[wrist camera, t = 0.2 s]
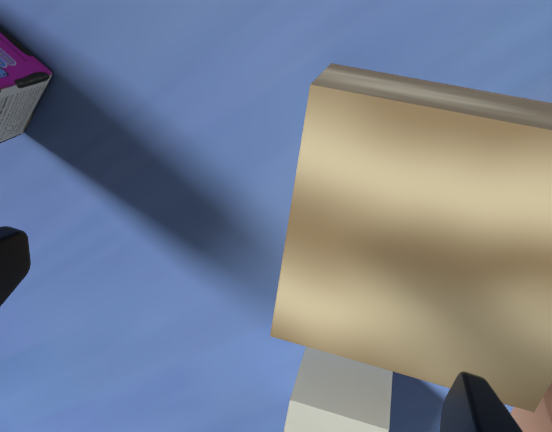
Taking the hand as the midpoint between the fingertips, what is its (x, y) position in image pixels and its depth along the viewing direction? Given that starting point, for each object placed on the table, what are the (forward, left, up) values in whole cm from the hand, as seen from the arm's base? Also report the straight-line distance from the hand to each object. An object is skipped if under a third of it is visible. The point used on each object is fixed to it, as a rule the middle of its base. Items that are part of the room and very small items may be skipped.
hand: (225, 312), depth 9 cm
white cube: (-16, -3, -15) cm, 22 cm away
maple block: (-4, -5, -15) cm, 16 cm away
